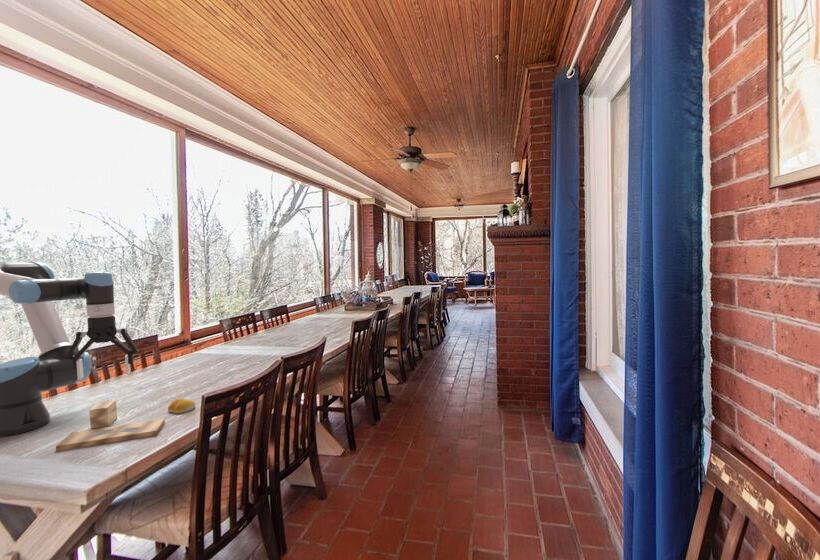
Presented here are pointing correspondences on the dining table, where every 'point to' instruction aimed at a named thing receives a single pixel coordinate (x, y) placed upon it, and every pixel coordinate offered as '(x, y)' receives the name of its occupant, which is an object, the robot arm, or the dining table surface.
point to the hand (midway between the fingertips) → (105, 375)
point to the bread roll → (181, 406)
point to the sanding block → (103, 414)
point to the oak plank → (111, 434)
